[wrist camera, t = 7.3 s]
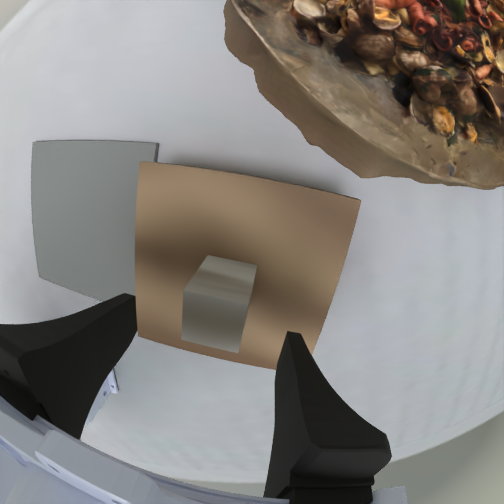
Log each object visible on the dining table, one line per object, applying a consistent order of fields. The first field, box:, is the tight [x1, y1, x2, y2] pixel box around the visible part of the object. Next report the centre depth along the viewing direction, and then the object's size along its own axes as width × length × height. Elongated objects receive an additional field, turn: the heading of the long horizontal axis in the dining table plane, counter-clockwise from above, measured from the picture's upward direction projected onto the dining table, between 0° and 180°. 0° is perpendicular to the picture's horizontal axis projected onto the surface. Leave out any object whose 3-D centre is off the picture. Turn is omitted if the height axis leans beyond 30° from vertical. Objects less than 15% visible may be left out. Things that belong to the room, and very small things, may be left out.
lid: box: [135, 161, 361, 370], centre depth 15 cm, size 13×13×5 cm
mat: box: [31, 140, 159, 301], centre depth 22 cm, size 15×15×1 cm
